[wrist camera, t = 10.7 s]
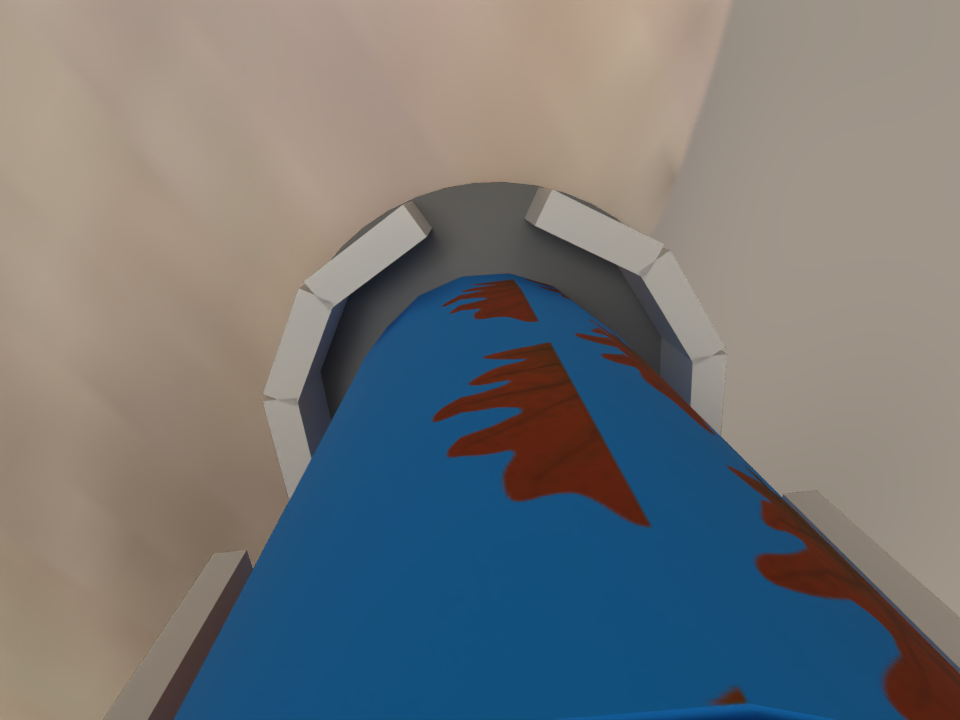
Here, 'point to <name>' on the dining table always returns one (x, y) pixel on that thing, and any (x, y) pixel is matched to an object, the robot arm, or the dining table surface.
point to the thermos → (547, 550)
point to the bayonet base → (484, 251)
